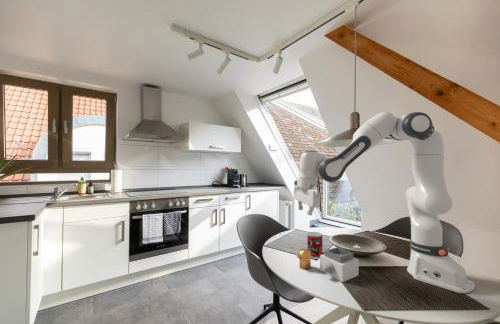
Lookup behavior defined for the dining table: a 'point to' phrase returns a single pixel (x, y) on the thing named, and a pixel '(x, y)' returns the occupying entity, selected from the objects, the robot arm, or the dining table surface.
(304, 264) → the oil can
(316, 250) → the canned food
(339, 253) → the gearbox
